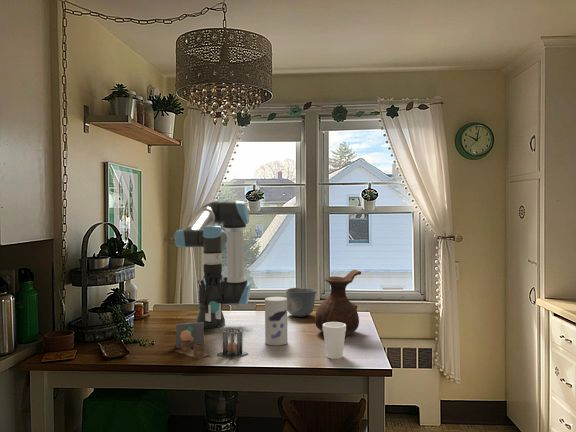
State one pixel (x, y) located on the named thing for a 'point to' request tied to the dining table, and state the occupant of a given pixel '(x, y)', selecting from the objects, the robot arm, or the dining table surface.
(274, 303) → the container
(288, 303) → the bowl
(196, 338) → the grey upright block
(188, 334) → the rack ball terracotta
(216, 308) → the teal ball
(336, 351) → the foam cup
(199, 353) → the rack
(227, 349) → the tube ball
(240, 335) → the grey barred cage
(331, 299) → the jug
